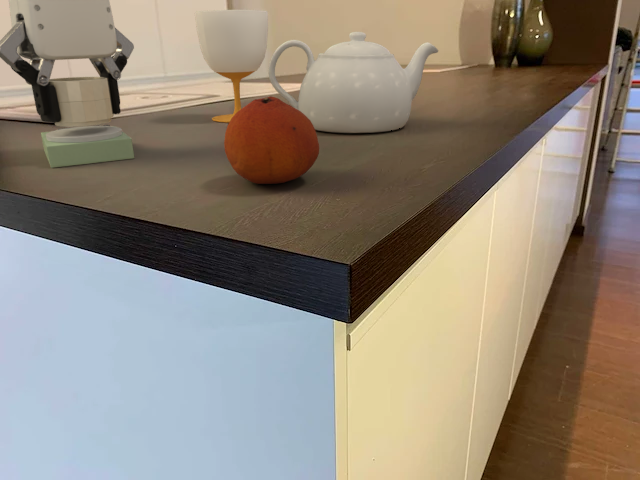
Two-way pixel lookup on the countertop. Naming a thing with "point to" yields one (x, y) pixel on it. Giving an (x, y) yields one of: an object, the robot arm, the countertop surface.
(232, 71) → the cup
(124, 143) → the scale
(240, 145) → the fruit
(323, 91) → the teapot
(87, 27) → the robot arm
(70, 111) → the bowl
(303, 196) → the countertop surface
